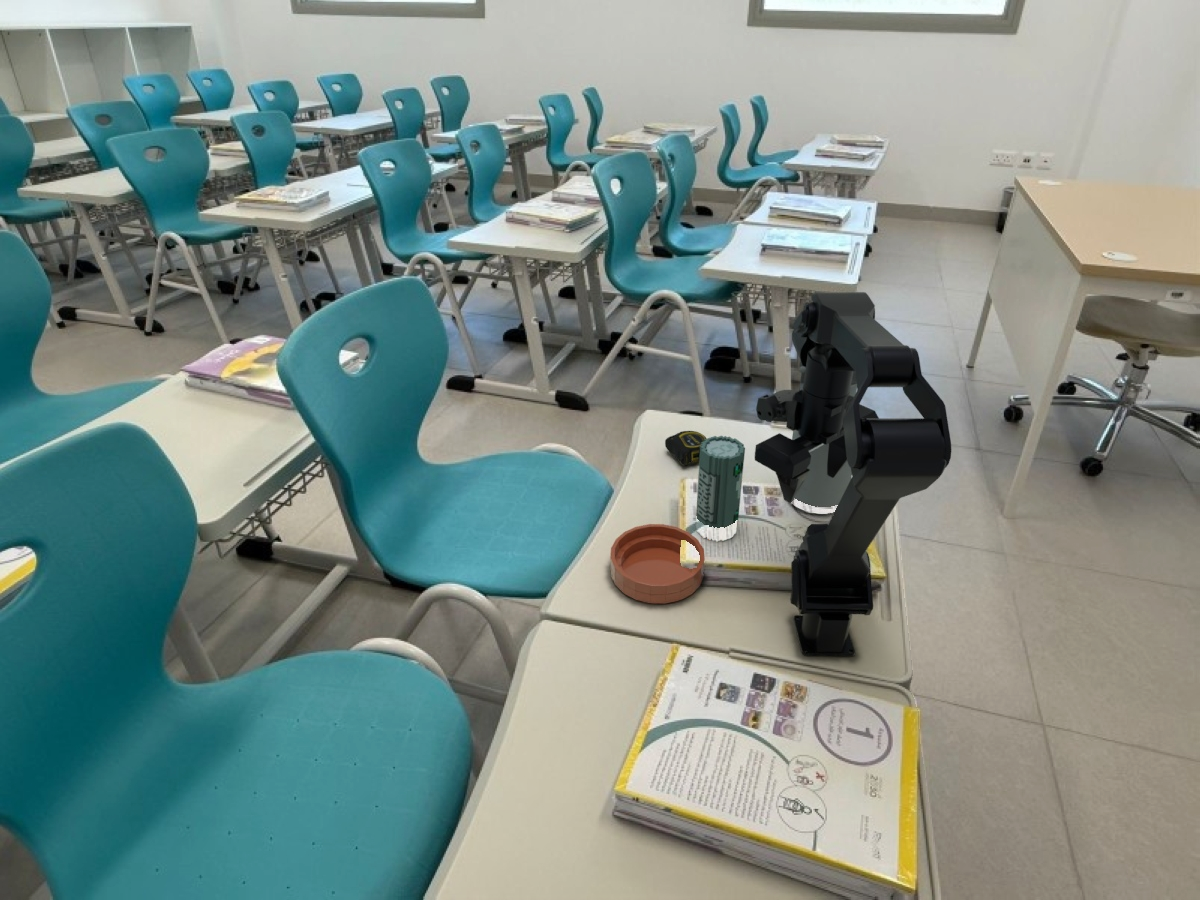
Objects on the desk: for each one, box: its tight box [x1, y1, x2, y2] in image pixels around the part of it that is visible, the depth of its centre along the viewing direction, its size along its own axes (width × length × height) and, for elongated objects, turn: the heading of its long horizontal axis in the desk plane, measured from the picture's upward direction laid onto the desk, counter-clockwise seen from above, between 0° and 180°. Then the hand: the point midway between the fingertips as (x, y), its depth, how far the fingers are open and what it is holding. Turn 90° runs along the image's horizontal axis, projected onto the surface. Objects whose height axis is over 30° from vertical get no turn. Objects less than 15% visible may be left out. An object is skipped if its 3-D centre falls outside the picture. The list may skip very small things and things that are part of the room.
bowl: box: [610, 523, 706, 604], centre depth 103 cm, size 13×13×4 cm
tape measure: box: [664, 430, 707, 467], centre depth 128 cm, size 7×7×4 cm
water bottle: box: [791, 360, 857, 507], centre depth 110 cm, size 10×10×28 cm
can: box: [695, 435, 746, 528], centre depth 108 cm, size 6×6×15 cm
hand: (809, 488), depth 99 cm, fingers open, 9 cm apart
